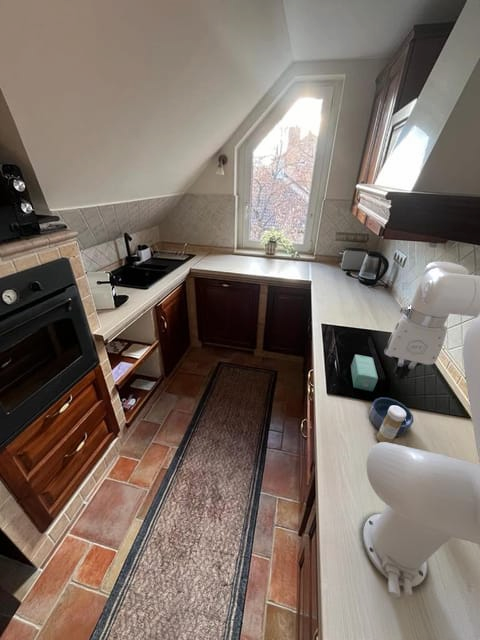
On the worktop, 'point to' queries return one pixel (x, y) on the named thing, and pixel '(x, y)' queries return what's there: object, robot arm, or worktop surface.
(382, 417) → the bowl
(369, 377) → the box
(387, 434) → the sprinkles bottle
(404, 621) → the worktop surface
